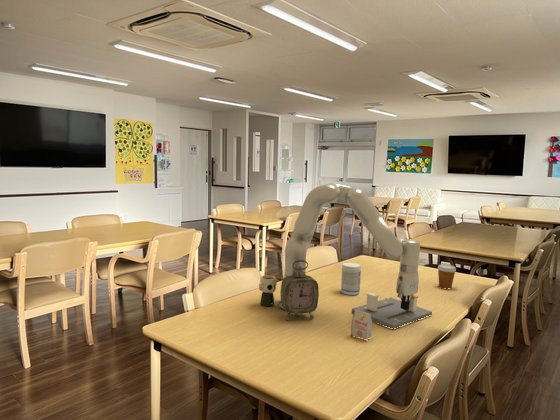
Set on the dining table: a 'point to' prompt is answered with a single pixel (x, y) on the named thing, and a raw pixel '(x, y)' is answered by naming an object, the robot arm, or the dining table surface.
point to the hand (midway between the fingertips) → (404, 308)
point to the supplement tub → (350, 278)
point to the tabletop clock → (299, 293)
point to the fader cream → (372, 301)
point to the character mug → (267, 289)
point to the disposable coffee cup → (446, 275)
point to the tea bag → (361, 325)
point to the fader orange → (413, 303)
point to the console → (393, 313)
